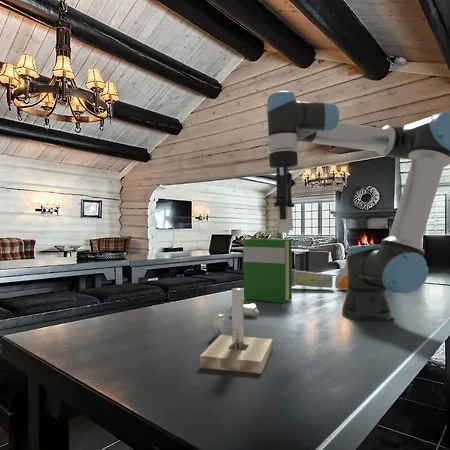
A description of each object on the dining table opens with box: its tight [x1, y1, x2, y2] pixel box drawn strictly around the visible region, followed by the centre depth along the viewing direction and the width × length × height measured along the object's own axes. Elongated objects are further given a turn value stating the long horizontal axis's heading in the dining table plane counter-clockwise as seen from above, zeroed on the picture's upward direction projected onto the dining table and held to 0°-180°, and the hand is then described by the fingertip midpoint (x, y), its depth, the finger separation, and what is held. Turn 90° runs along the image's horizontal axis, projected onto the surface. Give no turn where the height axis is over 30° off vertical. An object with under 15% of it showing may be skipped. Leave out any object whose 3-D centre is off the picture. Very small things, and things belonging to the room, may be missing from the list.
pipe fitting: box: [230, 302, 260, 318], centre depth 123 cm, size 8×4×7 cm
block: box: [292, 268, 334, 289], centre depth 173 cm, size 19×8×8 cm, turn 75°
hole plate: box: [199, 334, 274, 374], centre depth 84 cm, size 13×15×3 cm
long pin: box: [231, 287, 245, 350], centre depth 84 cm, size 3×3×16 cm
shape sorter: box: [334, 256, 348, 291], centre depth 173 cm, size 20×10×18 cm, turn 116°
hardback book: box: [242, 238, 293, 304], centre depth 150 cm, size 18×7×24 cm, turn 60°
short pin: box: [213, 313, 226, 339], centre depth 101 cm, size 3×3×6 cm
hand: (286, 231), depth 101 cm, fingers open, 13 cm apart
